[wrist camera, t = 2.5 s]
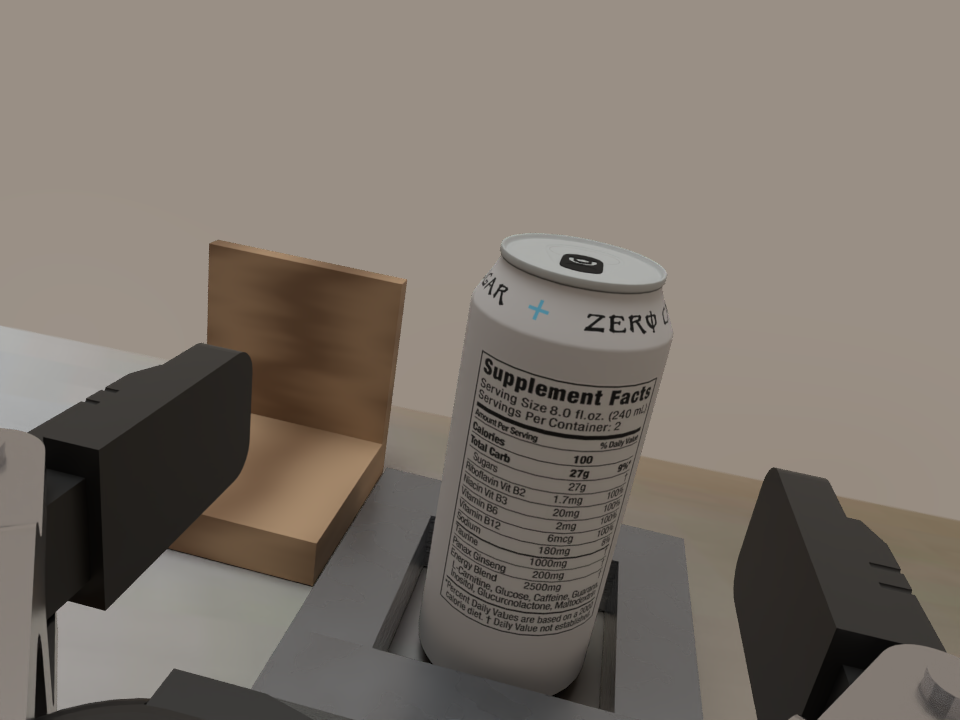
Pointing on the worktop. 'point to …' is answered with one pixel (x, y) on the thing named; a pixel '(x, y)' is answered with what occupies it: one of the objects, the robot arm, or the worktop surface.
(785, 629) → the robot arm
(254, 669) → the worktop surface
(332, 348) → the wooden l-shaped stand
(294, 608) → the worktop surface
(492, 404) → the energy drink can
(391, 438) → the worktop surface
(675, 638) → the socket block
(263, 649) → the worktop surface
